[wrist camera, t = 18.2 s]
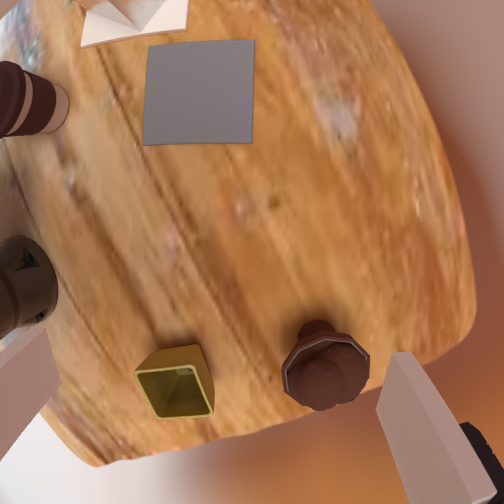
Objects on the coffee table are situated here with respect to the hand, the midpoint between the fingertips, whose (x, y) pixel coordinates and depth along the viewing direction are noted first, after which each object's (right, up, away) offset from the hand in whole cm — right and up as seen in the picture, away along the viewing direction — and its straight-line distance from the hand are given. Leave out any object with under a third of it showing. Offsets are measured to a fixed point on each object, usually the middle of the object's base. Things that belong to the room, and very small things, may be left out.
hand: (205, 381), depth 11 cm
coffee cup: (-28, +26, +27) cm, 47 cm away
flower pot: (-8, -12, +37) cm, 39 cm away
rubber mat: (-5, +25, +26) cm, 37 cm away
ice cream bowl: (+11, -8, +35) cm, 37 cm away
